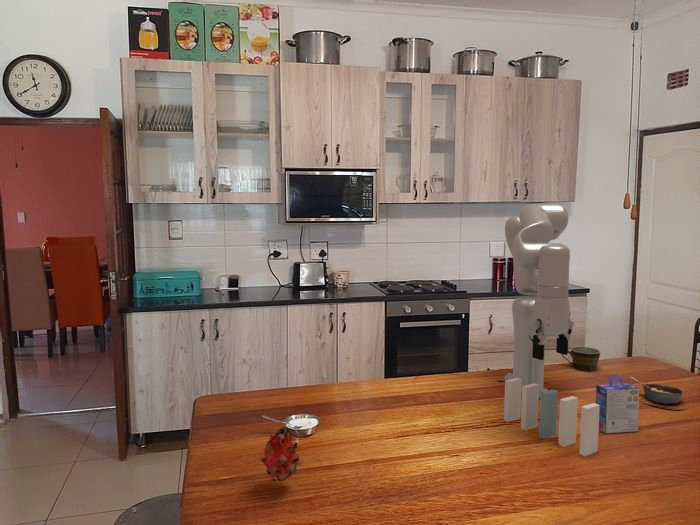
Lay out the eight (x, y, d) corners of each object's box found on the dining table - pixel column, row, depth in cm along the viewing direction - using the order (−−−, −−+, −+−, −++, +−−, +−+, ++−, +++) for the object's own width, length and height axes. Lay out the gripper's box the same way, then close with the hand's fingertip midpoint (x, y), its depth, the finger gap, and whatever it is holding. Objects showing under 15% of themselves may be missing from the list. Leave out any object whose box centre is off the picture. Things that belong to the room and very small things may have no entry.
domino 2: (520, 428, 142) (522, 386, 141) (532, 424, 144) (534, 383, 143) (525, 430, 140) (526, 387, 139) (537, 426, 143) (538, 384, 142)
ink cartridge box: (625, 424, 145) (627, 374, 144) (639, 432, 140) (641, 380, 138) (593, 426, 144) (595, 375, 142) (605, 434, 138) (608, 381, 137)
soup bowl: (672, 417, 150) (673, 393, 150) (621, 400, 165) (622, 378, 164) (700, 409, 157) (702, 385, 157) (649, 393, 171) (650, 371, 171)
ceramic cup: (597, 374, 192) (598, 348, 191) (601, 382, 183) (602, 354, 182) (560, 370, 196) (561, 345, 196) (561, 378, 187) (562, 351, 186)
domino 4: (558, 444, 131) (560, 399, 130) (570, 440, 134) (572, 395, 133) (563, 447, 130) (565, 401, 129) (575, 442, 133) (577, 397, 132)
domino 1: (503, 421, 147) (505, 380, 146) (515, 417, 149) (517, 377, 148) (508, 423, 145) (509, 381, 144) (520, 419, 148) (521, 379, 147)
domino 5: (579, 453, 126) (581, 406, 125) (591, 449, 129) (593, 403, 128) (585, 456, 125) (587, 408, 124) (597, 451, 128) (599, 404, 127)
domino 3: (538, 436, 137) (540, 392, 136) (551, 432, 139) (552, 389, 138) (544, 438, 135) (545, 394, 134) (556, 434, 138) (557, 391, 137)
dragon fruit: (266, 494, 107) (266, 439, 106) (256, 476, 115) (256, 424, 114) (305, 486, 111) (305, 432, 110) (293, 468, 118) (292, 418, 117)
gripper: (561, 288, 142) (558, 348, 143) (518, 293, 133) (516, 357, 134) (585, 291, 135) (583, 354, 137) (543, 297, 126) (540, 364, 128)
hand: (550, 356), depth 136 cm, fingers open, 9 cm apart
